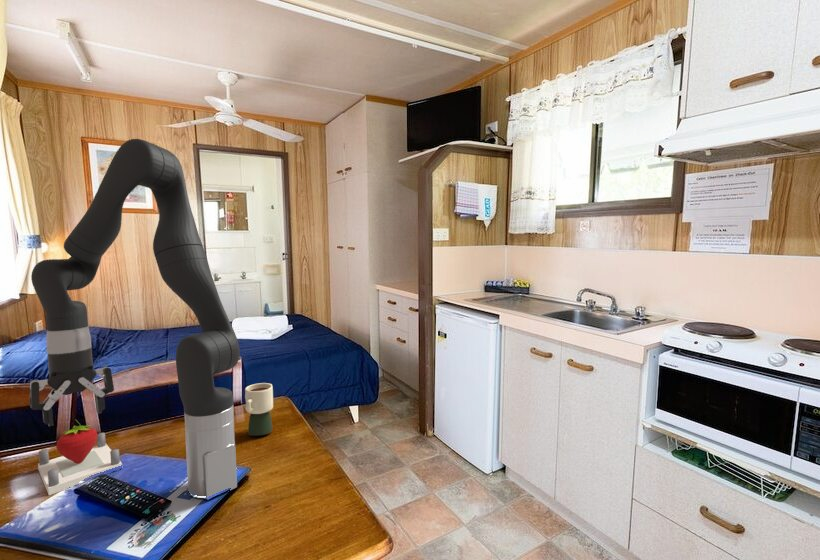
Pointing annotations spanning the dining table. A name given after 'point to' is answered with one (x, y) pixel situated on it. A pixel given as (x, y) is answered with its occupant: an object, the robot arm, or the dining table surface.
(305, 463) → the dining table surface
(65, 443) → the strawberry
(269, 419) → the character mug
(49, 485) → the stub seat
